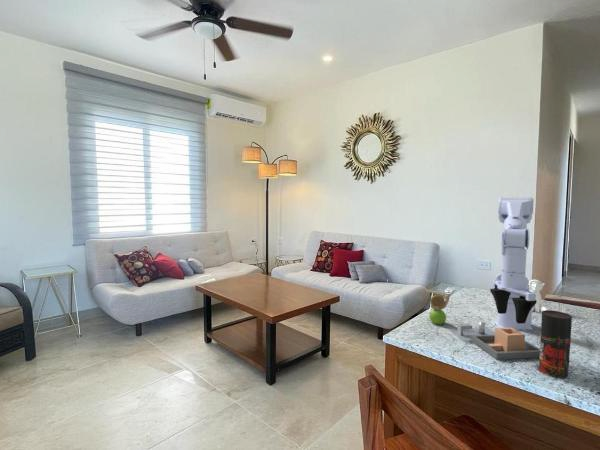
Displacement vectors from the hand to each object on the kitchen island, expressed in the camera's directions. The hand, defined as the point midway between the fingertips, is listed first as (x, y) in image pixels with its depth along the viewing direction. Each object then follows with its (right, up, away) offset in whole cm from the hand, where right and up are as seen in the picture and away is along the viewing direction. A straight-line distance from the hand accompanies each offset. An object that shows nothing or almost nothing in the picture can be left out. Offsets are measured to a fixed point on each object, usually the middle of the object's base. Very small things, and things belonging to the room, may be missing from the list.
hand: (510, 317), depth 96 cm
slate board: (-4, -9, +11) cm, 15 cm away
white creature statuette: (+31, -7, +35) cm, 48 cm away
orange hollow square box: (-2, -9, +1) cm, 9 cm away
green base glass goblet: (-12, -8, +21) cm, 25 cm away
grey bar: (-5, -8, +11) cm, 15 cm away
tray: (-1, -10, +1) cm, 10 cm away
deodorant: (+4, -11, -11) cm, 16 cm away
